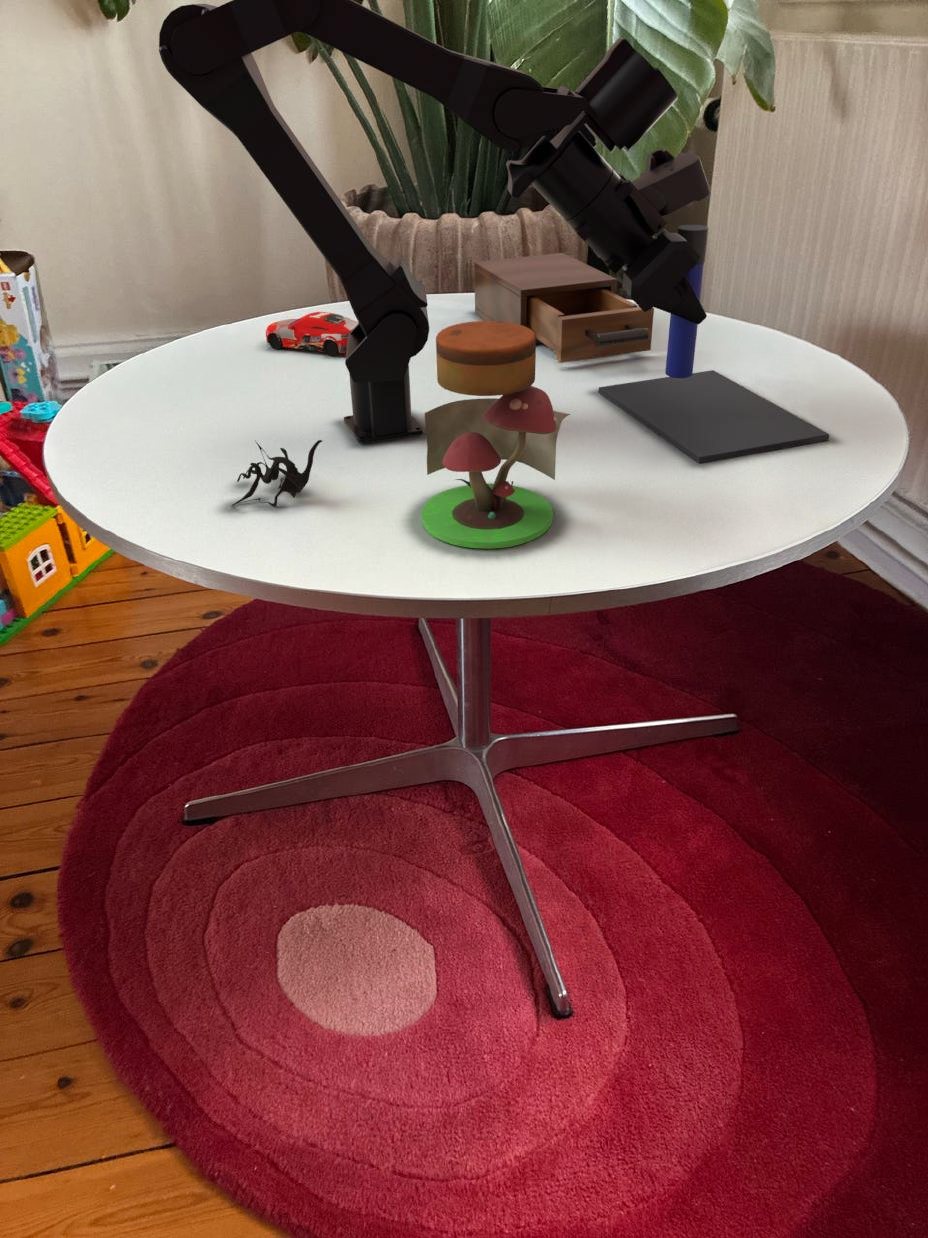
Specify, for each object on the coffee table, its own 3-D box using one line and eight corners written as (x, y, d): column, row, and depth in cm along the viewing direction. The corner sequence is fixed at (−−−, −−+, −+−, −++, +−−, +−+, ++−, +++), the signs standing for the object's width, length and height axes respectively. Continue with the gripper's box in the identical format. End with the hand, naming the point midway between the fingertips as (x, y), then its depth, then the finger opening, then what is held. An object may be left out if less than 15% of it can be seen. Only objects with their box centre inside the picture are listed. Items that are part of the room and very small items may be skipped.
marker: (689, 379, 93) (705, 231, 86) (661, 376, 94) (674, 229, 87) (695, 371, 95) (711, 225, 88) (668, 368, 96) (681, 223, 89)
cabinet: (613, 333, 121) (617, 278, 117) (520, 345, 117) (520, 289, 114) (560, 302, 133) (562, 252, 129) (474, 313, 130) (474, 261, 126)
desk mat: (828, 439, 91) (829, 433, 91) (698, 463, 87) (699, 457, 87) (712, 375, 107) (713, 369, 107) (598, 392, 103) (598, 387, 103)
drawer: (667, 360, 109) (672, 316, 106) (575, 373, 106) (577, 329, 103) (594, 317, 123) (596, 278, 121) (511, 328, 120) (511, 288, 118)
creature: (214, 516, 83) (281, 518, 78) (193, 456, 80) (261, 454, 76) (275, 482, 88) (341, 482, 84) (258, 425, 86) (325, 422, 81)
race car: (257, 348, 119) (253, 315, 117) (282, 335, 123) (278, 303, 121) (351, 359, 114) (348, 325, 112) (373, 346, 118) (371, 313, 116)
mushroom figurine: (582, 548, 74) (593, 354, 66) (418, 556, 74) (408, 362, 66) (559, 483, 84) (565, 307, 76) (414, 489, 84) (405, 313, 76)
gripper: (686, 132, 75) (803, 275, 81) (634, 108, 90) (735, 229, 97) (580, 244, 78) (700, 371, 85) (548, 202, 94) (651, 313, 101)
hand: (698, 315), depth 92 cm, fingers closed on marker, 2 cm apart
